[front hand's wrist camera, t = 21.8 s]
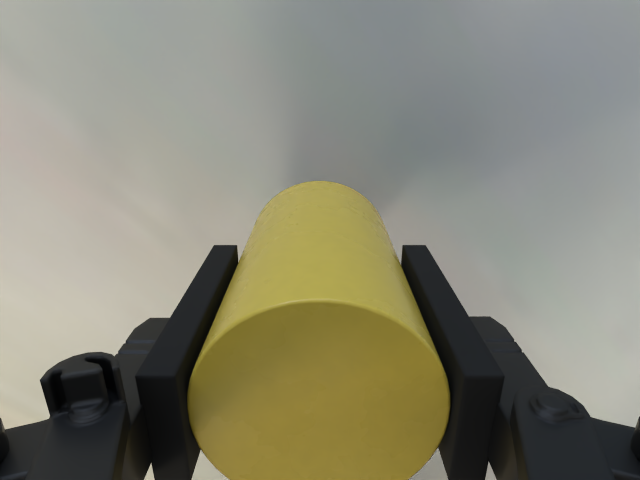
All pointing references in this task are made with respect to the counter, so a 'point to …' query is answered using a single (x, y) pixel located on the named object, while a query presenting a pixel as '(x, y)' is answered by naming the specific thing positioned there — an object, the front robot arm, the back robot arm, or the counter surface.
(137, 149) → the counter surface
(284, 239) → the yellow cylinder
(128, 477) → the front robot arm
